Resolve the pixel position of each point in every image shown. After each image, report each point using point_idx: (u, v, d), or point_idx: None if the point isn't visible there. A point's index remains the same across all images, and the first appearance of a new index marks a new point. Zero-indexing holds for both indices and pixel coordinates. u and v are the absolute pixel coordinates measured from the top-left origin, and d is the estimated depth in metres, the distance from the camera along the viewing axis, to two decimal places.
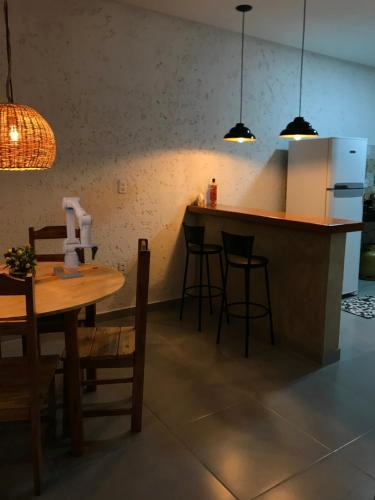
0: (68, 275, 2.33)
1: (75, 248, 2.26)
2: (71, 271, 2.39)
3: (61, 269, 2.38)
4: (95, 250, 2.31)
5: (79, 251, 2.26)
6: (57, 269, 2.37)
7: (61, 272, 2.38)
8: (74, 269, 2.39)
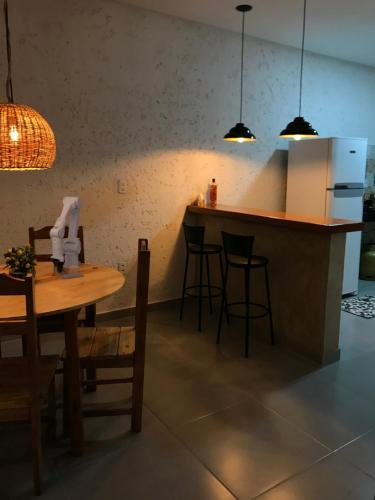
0: (68, 275, 2.33)
1: None
2: (71, 271, 2.39)
3: None
4: (55, 263, 2.34)
5: (52, 260, 2.40)
6: None
7: (61, 272, 2.38)
8: (74, 269, 2.39)
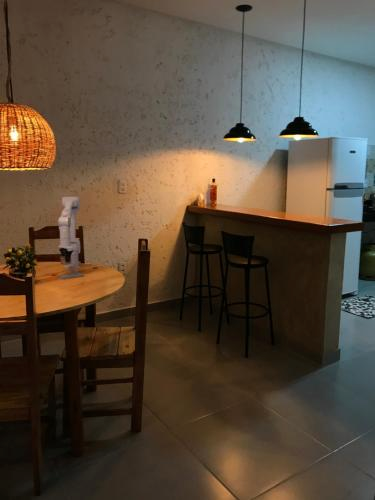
0: (68, 275, 2.33)
1: None
2: (71, 271, 2.39)
3: None
4: (63, 252, 2.29)
5: (59, 250, 2.34)
6: (64, 259, 2.31)
7: (68, 262, 2.33)
8: (74, 269, 2.39)
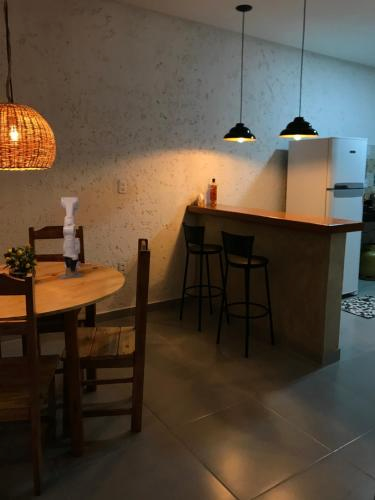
0: None
1: None
2: None
3: None
4: (68, 261, 2.27)
5: (63, 258, 2.34)
6: (69, 270, 2.31)
7: (73, 273, 2.32)
8: None
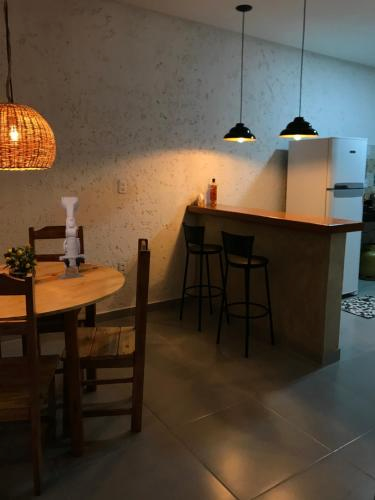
0: None
1: (62, 259, 2.36)
2: None
3: (73, 270, 2.32)
4: (79, 261, 2.40)
5: (68, 262, 2.36)
6: (69, 270, 2.31)
7: (73, 273, 2.32)
8: None
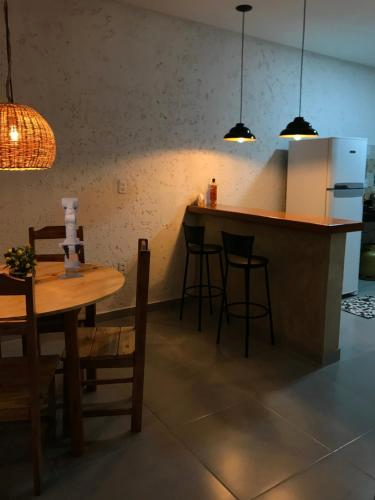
0: None
1: (61, 246, 2.33)
2: (70, 258, 2.36)
3: (73, 270, 2.32)
4: (78, 248, 2.37)
5: (67, 248, 2.34)
6: (69, 270, 2.31)
7: (73, 273, 2.32)
8: (73, 256, 2.37)
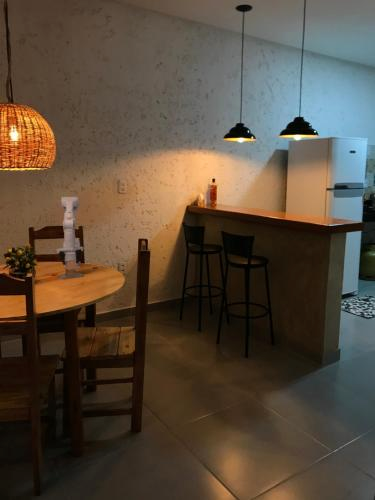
0: None
1: (59, 252, 2.27)
2: (69, 266, 2.30)
3: (73, 270, 2.32)
4: (79, 253, 2.32)
5: (63, 255, 2.27)
6: (69, 270, 2.31)
7: (73, 273, 2.32)
8: (72, 264, 2.31)
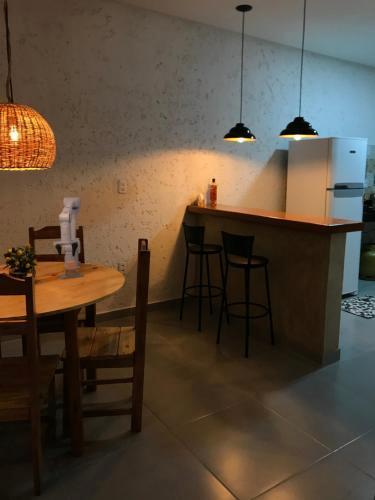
0: None
1: (56, 245, 2.31)
2: (69, 266, 2.30)
3: (73, 270, 2.32)
4: (75, 246, 2.36)
5: (60, 247, 2.31)
6: (69, 270, 2.31)
7: (73, 273, 2.32)
8: (72, 264, 2.31)
